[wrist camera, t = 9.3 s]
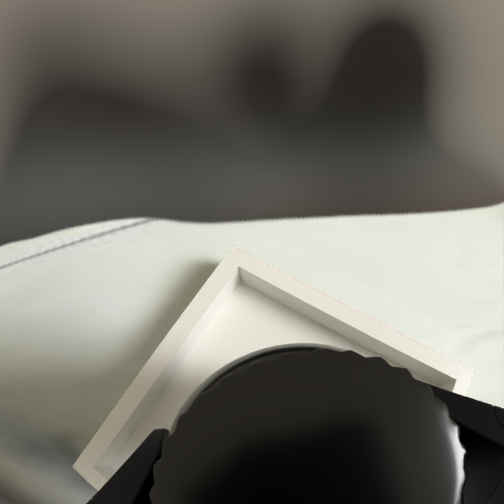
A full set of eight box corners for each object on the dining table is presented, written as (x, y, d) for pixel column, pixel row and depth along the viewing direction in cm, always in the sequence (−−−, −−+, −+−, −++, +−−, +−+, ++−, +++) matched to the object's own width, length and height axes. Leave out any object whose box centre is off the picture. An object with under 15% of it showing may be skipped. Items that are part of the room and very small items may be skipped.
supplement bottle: (200, 406, 15) (54, 339, 5) (328, 364, 16) (421, 223, 5) (242, 525, 11) (176, 671, 1) (374, 479, 12) (542, 530, 2)
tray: (323, 595, 9) (329, 612, 7) (93, 464, 14) (72, 466, 12) (453, 378, 16) (474, 369, 14) (236, 266, 21) (233, 245, 19)
